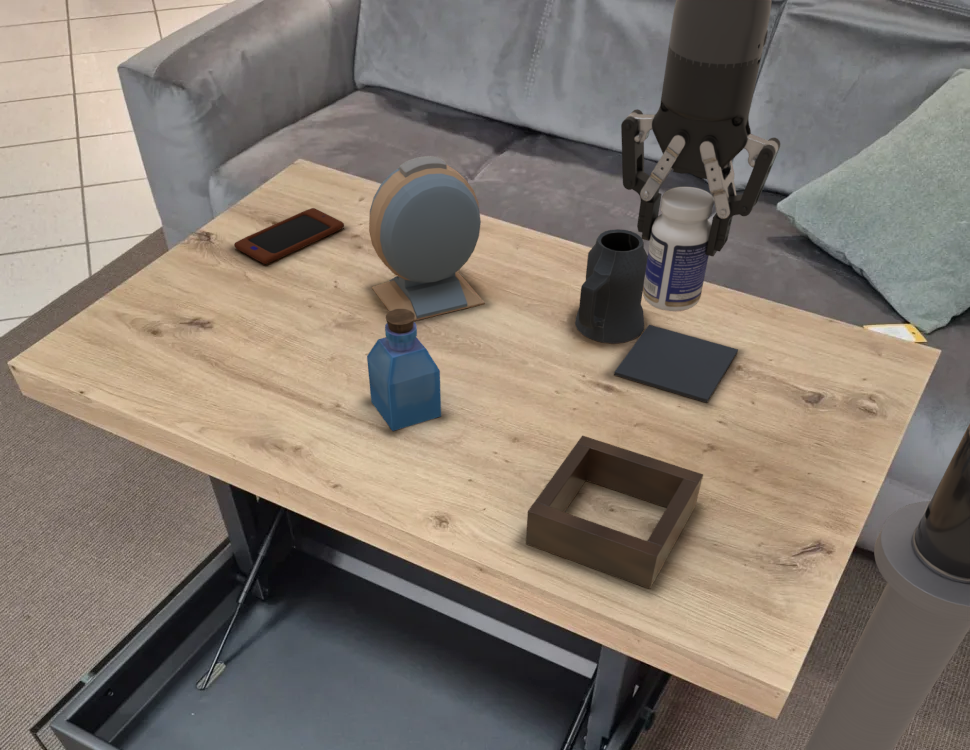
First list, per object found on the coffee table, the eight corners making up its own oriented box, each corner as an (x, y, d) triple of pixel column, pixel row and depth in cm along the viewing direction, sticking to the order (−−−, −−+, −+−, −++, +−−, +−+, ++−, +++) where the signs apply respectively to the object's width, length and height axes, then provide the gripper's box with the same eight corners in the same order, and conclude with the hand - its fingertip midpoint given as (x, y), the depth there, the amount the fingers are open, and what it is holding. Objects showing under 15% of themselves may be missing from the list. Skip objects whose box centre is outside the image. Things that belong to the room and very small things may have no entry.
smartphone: (232, 242, 132) (312, 205, 140) (233, 248, 133) (313, 212, 140) (264, 259, 129) (345, 221, 137) (265, 266, 130) (345, 228, 137)
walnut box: (695, 506, 100) (703, 474, 96) (650, 589, 92) (657, 556, 89) (578, 468, 104) (582, 435, 100) (525, 543, 96) (527, 511, 93)
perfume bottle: (392, 431, 107) (385, 338, 98) (371, 402, 111) (362, 309, 102) (441, 416, 109) (438, 323, 100) (418, 388, 113) (414, 296, 104)
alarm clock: (461, 268, 131) (460, 134, 117) (491, 302, 125) (494, 165, 112) (365, 290, 127) (352, 153, 113) (392, 326, 121) (382, 187, 108)
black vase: (596, 297, 126) (606, 215, 118) (656, 319, 123) (671, 236, 115) (550, 338, 120) (556, 254, 111) (612, 362, 117) (623, 277, 108)
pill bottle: (706, 291, 94) (727, 190, 86) (690, 319, 90) (711, 217, 83) (651, 278, 95) (667, 178, 88) (633, 305, 92) (648, 204, 84)
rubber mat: (737, 352, 119) (738, 349, 118) (707, 403, 112) (707, 399, 111) (648, 327, 122) (649, 324, 122) (613, 375, 115) (614, 371, 115)
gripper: (616, 42, 75) (594, 244, 88) (792, 74, 72) (742, 281, 85) (648, 14, 80) (623, 211, 93) (815, 43, 76) (765, 244, 89)
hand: (680, 243), depth 89 cm, fingers closed on pill bottle, 5 cm apart
